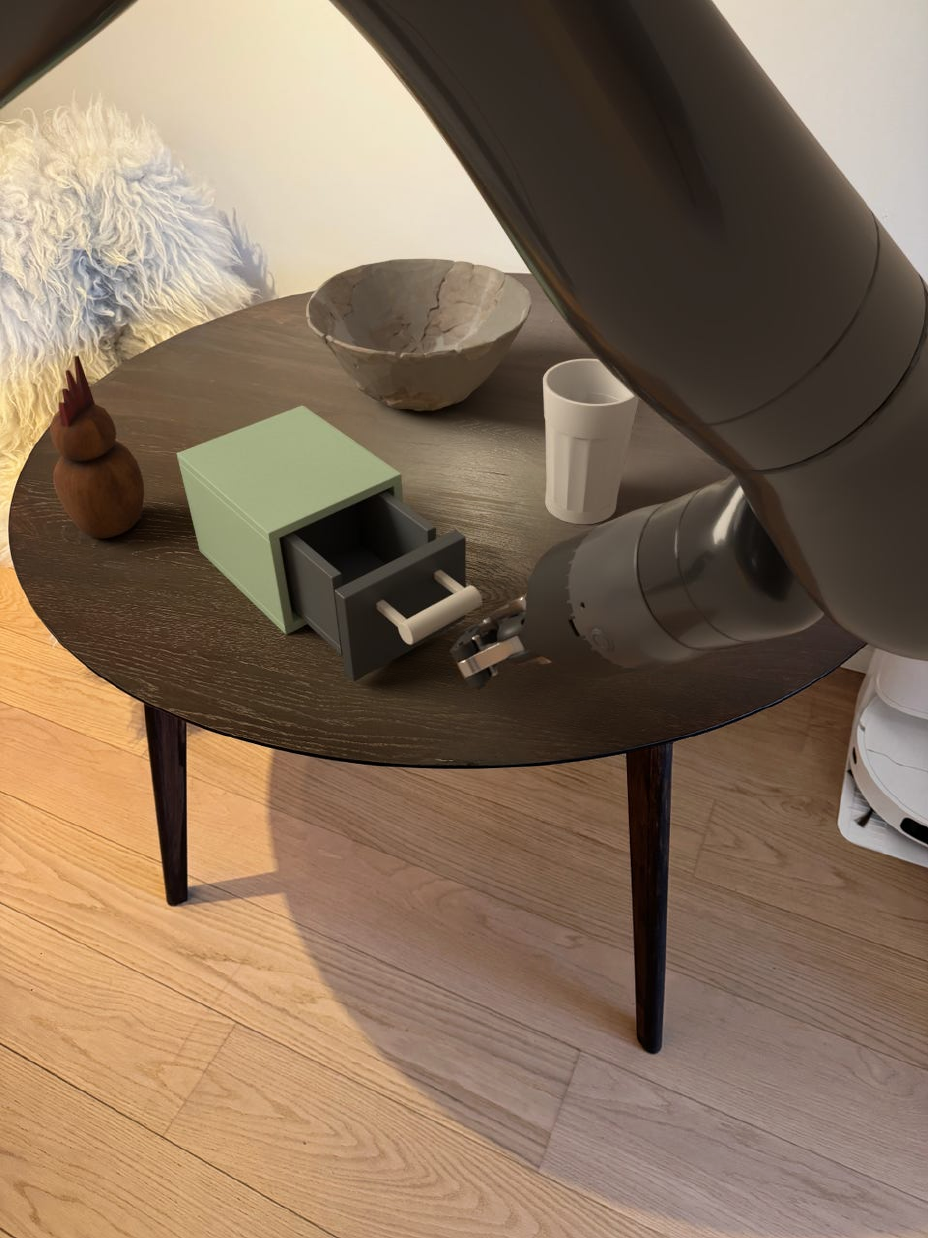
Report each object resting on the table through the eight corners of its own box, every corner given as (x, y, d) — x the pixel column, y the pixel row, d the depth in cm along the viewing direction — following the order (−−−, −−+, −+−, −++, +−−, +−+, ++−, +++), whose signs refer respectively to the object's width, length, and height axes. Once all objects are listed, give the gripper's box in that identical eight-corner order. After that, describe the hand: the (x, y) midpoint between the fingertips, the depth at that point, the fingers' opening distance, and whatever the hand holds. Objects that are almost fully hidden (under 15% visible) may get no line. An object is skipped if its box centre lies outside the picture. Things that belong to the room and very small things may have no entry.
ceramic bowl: (518, 340, 108) (522, 253, 102) (536, 446, 91) (541, 350, 84) (326, 343, 108) (316, 256, 101) (307, 451, 91) (294, 354, 84)
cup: (523, 517, 82) (529, 394, 74) (551, 471, 88) (560, 351, 80) (611, 538, 80) (627, 413, 72) (635, 489, 86) (652, 368, 78)
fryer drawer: (504, 648, 69) (507, 565, 64) (390, 717, 64) (383, 633, 59) (369, 542, 78) (362, 462, 73) (261, 594, 73) (246, 513, 68)
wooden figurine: (122, 496, 85) (76, 340, 75) (165, 518, 82) (123, 360, 72) (59, 533, 81) (1, 373, 71) (101, 557, 78) (48, 395, 68)
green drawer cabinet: (407, 572, 77) (401, 473, 70) (286, 635, 71) (268, 533, 65) (315, 500, 84) (302, 404, 78) (199, 551, 79) (175, 452, 73)
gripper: (691, 475, 49) (521, 551, 64) (501, 579, 42) (363, 636, 58) (753, 603, 49) (570, 648, 64) (575, 725, 43) (419, 743, 58)
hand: (473, 642), depth 61 cm, fingers closed
